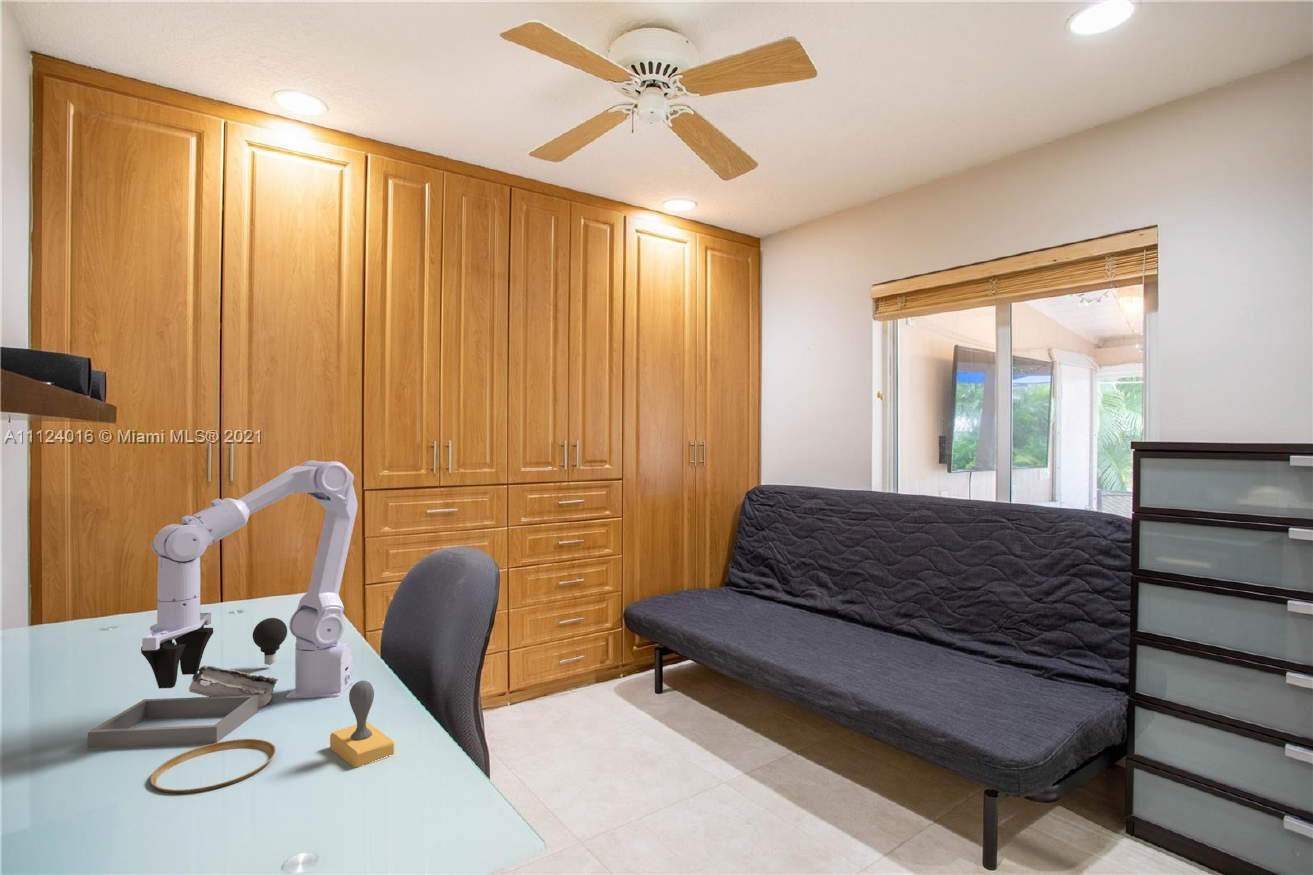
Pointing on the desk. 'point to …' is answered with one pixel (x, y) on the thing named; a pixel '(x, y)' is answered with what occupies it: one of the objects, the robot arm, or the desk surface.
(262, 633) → the light bulb
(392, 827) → the desk surface
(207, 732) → the box
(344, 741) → the rubber stamp
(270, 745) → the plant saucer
